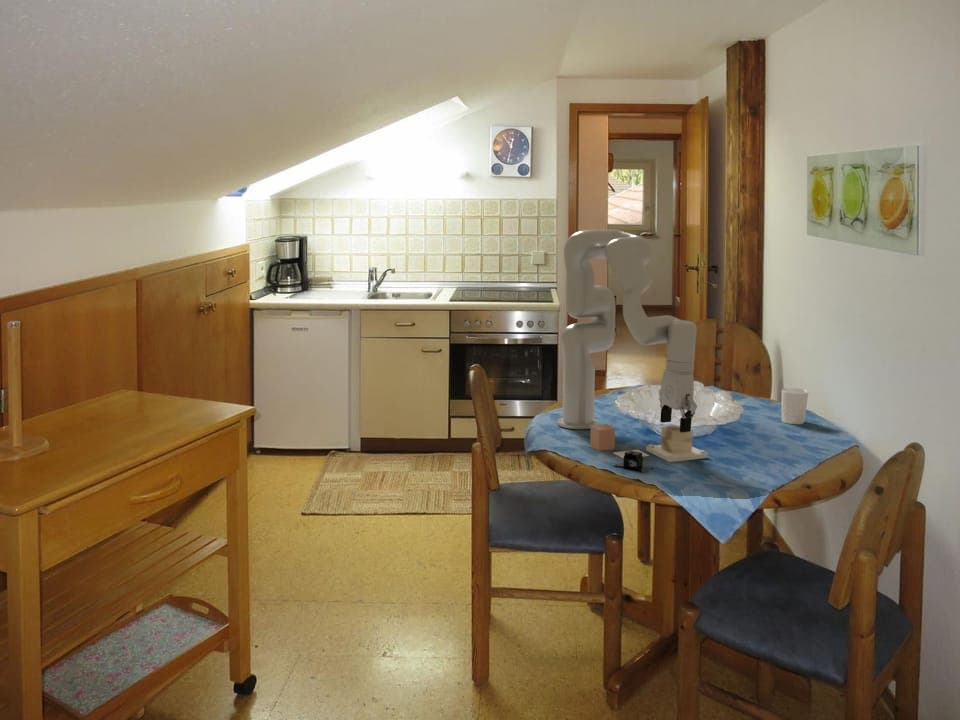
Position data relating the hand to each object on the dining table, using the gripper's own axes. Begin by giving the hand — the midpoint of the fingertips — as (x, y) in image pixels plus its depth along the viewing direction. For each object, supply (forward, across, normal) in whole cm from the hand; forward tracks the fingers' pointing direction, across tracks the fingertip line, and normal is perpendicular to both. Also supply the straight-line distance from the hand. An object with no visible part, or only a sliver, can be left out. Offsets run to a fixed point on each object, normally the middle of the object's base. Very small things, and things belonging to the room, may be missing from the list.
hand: (675, 426), depth 262 cm
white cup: (+8, -17, +54) cm, 57 cm away
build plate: (+7, +1, 0) cm, 8 cm away
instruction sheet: (+8, -3, -12) cm, 14 cm away
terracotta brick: (+8, -12, -16) cm, 21 cm away
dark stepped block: (+8, +8, -17) cm, 20 cm away
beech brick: (+6, +1, 0) cm, 6 cm away
